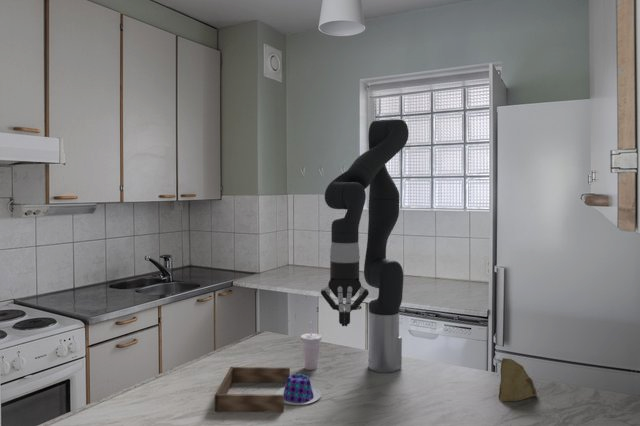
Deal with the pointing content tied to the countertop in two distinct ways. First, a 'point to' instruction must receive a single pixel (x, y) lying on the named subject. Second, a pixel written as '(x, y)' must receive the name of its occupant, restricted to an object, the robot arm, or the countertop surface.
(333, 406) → the countertop surface
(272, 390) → the countertop surface
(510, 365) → the rock
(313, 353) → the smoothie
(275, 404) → the box
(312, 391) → the pudding
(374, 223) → the robot arm
